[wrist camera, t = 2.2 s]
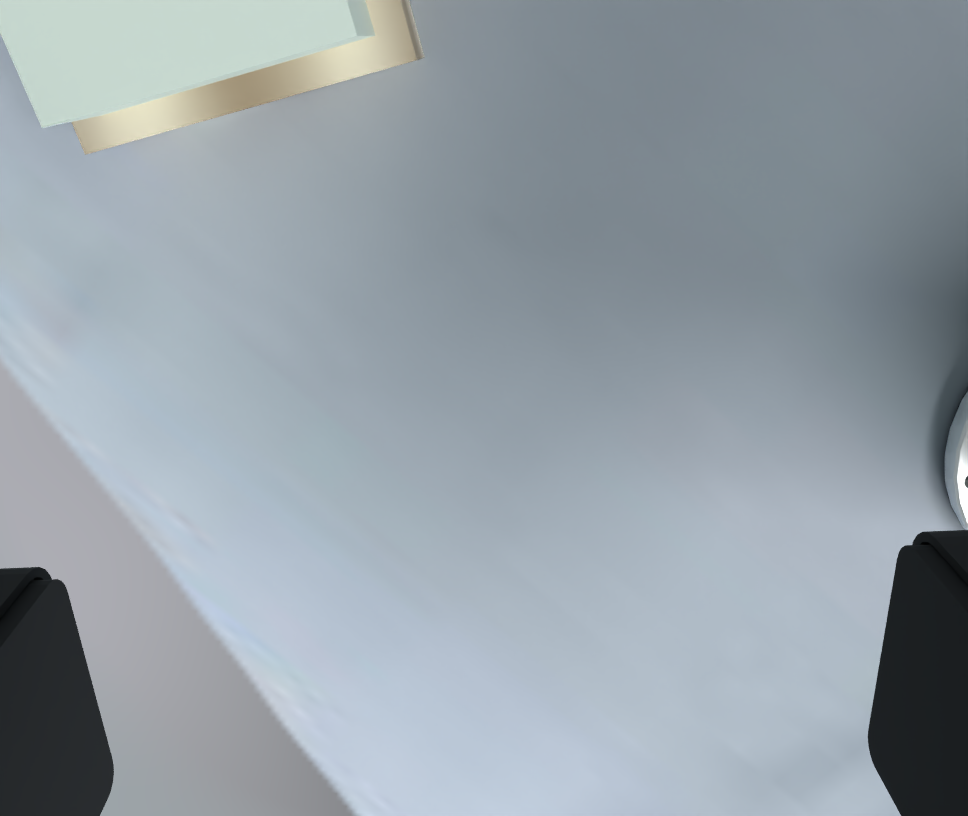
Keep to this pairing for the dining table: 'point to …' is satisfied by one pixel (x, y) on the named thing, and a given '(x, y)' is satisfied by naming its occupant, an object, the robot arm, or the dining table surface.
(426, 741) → the dining table surface
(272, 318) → the dining table surface
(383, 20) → the tower base block
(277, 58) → the tower top block
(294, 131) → the dining table surface
